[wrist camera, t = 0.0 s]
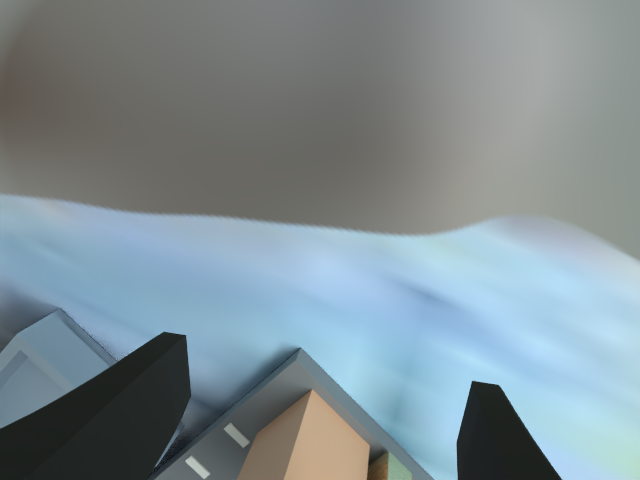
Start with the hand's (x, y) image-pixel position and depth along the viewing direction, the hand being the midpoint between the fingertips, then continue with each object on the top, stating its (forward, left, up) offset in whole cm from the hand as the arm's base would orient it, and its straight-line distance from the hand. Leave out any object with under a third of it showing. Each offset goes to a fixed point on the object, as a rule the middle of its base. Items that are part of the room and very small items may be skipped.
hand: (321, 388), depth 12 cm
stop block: (-8, -5, -9) cm, 13 cm away
